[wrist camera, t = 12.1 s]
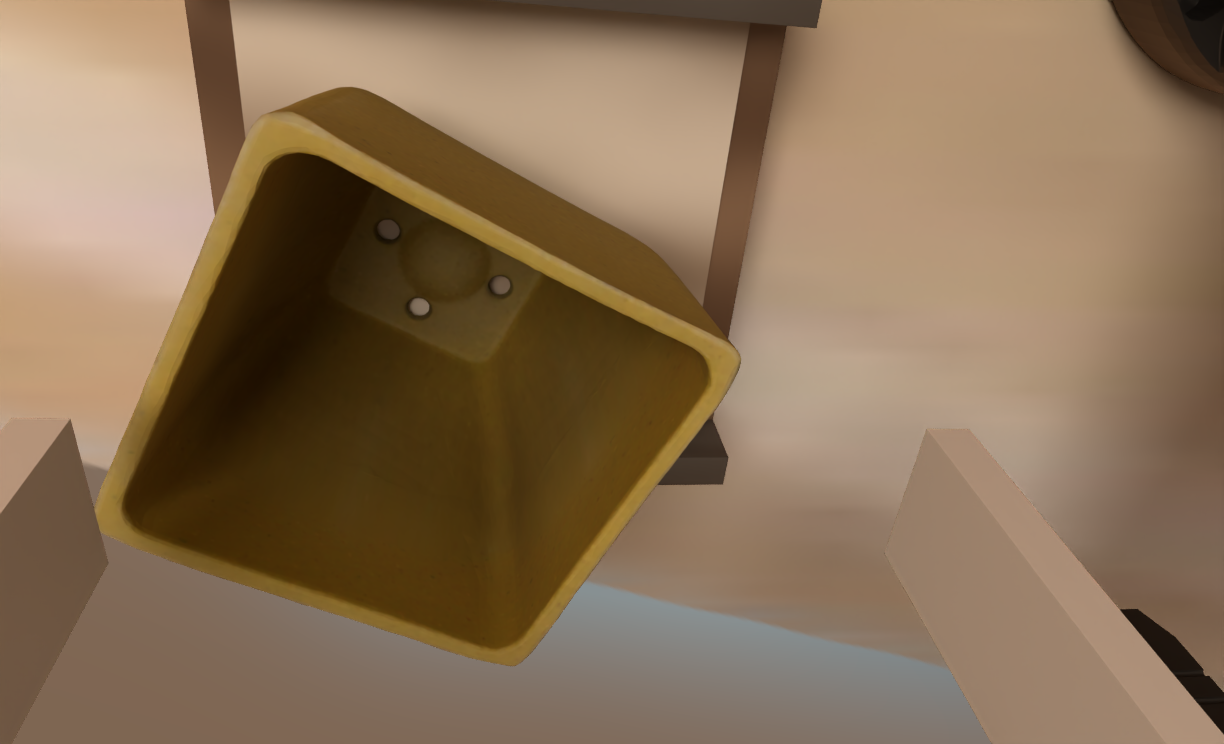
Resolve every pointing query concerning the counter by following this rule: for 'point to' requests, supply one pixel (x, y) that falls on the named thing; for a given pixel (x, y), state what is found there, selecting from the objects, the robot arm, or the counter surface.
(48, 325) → the counter surface
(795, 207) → the counter surface
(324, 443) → the flower pot
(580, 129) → the dock
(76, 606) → the robot arm
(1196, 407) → the counter surface
